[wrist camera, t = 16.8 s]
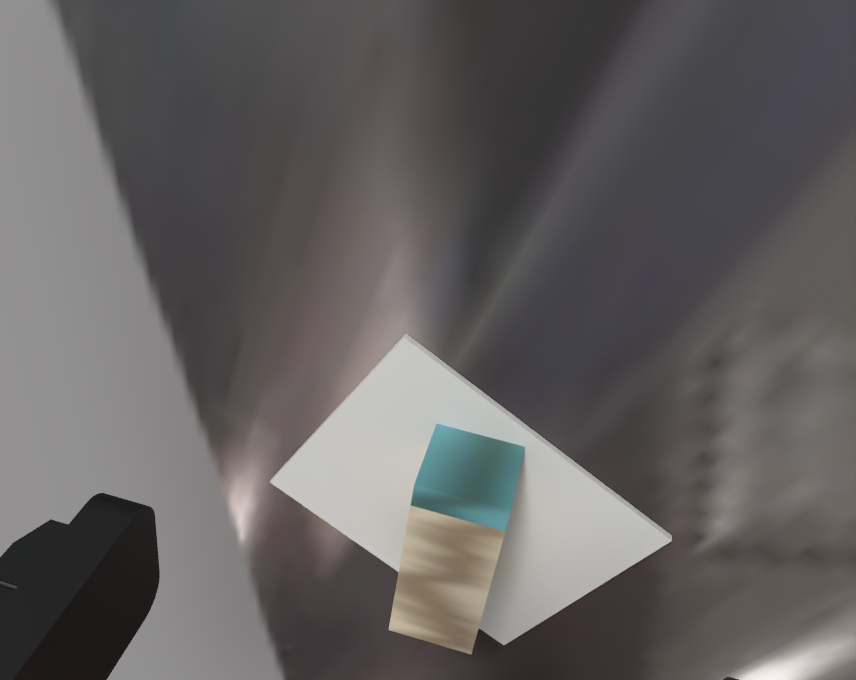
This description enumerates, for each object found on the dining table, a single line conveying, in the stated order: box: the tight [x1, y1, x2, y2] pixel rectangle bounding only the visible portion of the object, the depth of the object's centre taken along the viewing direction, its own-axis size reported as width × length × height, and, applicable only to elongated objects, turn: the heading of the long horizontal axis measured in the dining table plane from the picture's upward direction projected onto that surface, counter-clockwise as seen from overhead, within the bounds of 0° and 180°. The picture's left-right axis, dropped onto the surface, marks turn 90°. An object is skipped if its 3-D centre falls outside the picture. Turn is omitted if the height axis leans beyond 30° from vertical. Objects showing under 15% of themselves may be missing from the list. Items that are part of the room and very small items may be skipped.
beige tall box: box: [389, 424, 525, 654], centre depth 46 cm, size 5×5×12 cm
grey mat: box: [270, 334, 672, 645], centre depth 48 cm, size 19×15×1 cm
